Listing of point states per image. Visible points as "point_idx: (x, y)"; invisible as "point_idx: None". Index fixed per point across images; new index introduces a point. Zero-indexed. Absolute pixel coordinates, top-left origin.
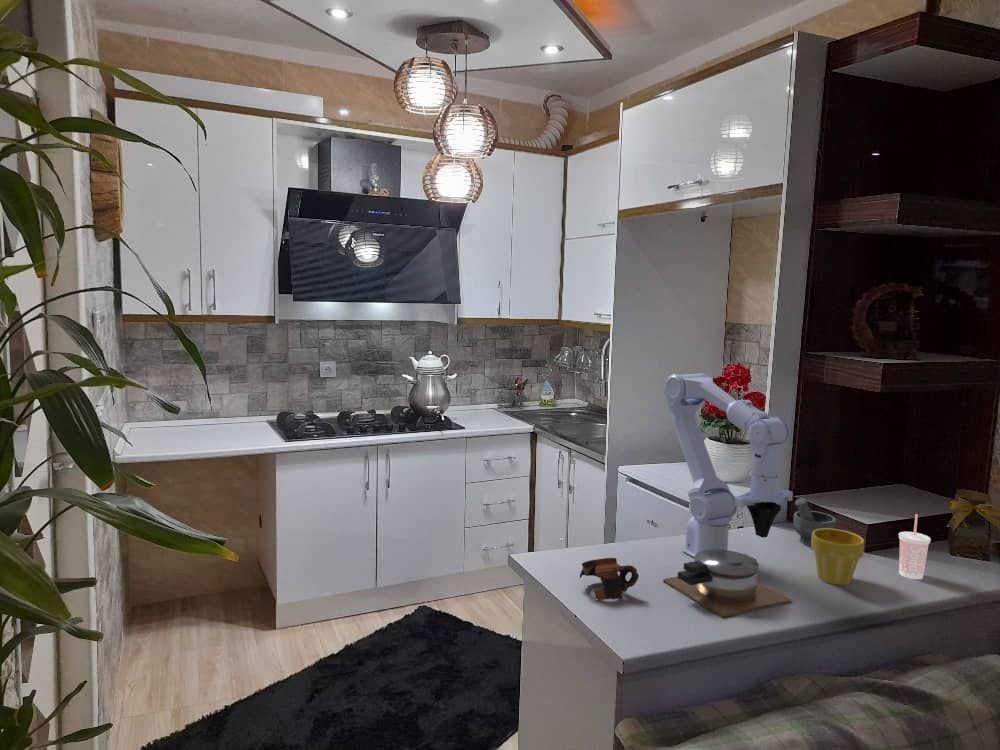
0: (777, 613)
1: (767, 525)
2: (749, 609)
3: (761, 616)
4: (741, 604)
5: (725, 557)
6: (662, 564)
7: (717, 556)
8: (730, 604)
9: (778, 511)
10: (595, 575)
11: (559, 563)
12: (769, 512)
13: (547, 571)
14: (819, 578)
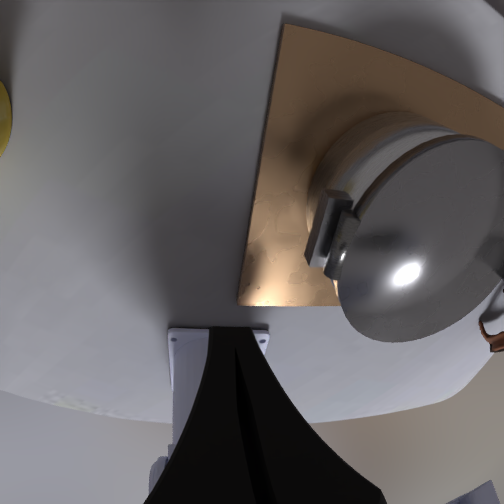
0: (400, 16)
1: (234, 393)
2: (454, 81)
3: (448, 43)
4: (450, 111)
5: (425, 280)
6: (349, 358)
7: (433, 294)
8: (467, 131)
9: (161, 502)
10: (488, 334)
11: (448, 379)
12: (304, 499)
13: (477, 362)
14: (10, 132)
